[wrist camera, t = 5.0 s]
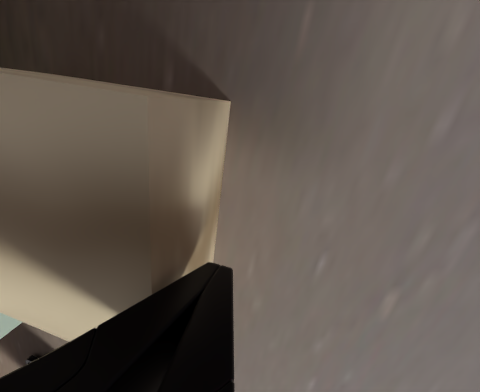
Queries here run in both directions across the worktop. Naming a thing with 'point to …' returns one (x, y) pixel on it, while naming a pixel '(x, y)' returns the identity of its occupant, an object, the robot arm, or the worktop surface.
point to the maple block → (102, 195)
